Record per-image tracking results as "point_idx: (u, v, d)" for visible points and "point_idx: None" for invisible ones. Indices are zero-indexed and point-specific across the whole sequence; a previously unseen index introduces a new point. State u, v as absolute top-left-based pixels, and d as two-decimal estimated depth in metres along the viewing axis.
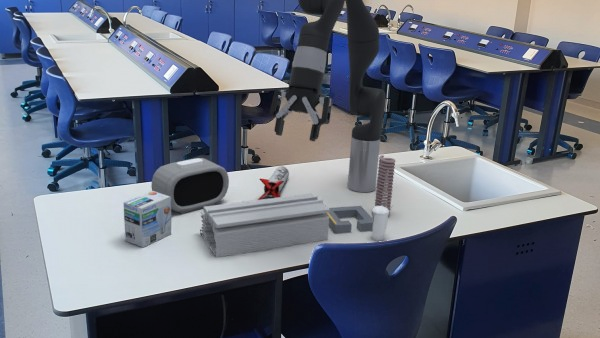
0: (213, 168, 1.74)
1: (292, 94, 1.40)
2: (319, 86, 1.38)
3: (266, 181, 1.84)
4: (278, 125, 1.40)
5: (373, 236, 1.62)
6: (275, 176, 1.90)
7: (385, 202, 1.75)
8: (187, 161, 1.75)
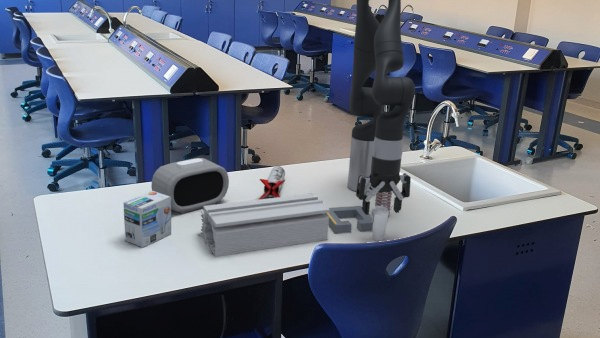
0: (213, 168, 1.74)
1: (378, 179, 1.55)
2: None
3: (266, 182, 1.84)
4: (368, 207, 1.57)
5: (373, 236, 1.62)
6: (274, 176, 1.90)
7: (385, 202, 1.75)
8: (187, 161, 1.74)
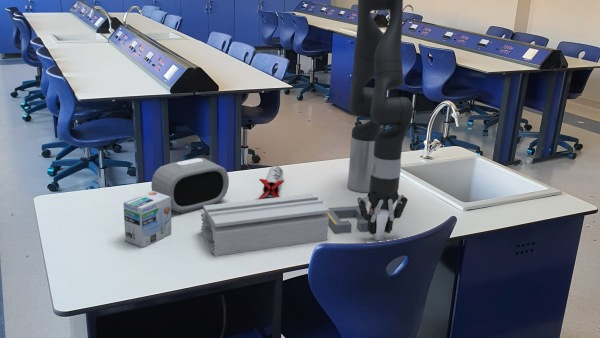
0: (213, 168, 1.74)
1: (376, 197, 1.57)
2: None
3: (265, 182, 1.84)
4: (373, 227, 1.60)
5: (373, 236, 1.62)
6: (273, 176, 1.90)
7: None
8: (187, 161, 1.75)
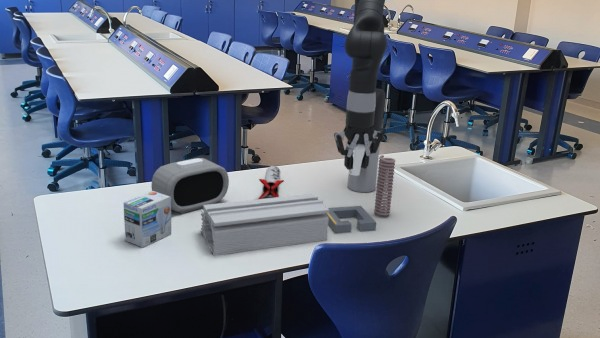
0: (213, 168, 1.74)
1: (352, 132, 1.61)
2: None
3: (265, 182, 1.84)
4: (350, 162, 1.64)
5: (350, 171, 1.65)
6: (271, 176, 1.90)
7: (385, 202, 1.75)
8: (187, 161, 1.75)
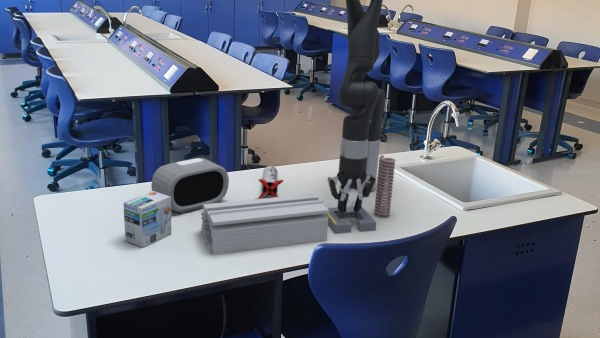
0: (213, 168, 1.74)
1: (345, 177, 1.65)
2: None
3: (264, 182, 1.84)
4: (343, 206, 1.68)
5: (343, 214, 1.70)
6: (270, 176, 1.90)
7: (385, 202, 1.75)
8: (187, 161, 1.75)
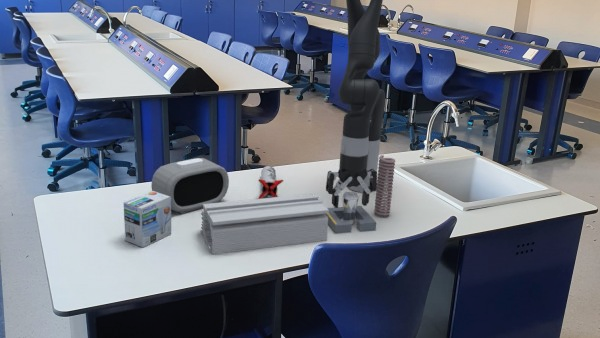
0: (213, 168, 1.74)
1: (346, 175, 1.65)
2: None
3: (263, 182, 1.84)
4: (337, 201, 1.67)
5: (344, 220, 1.71)
6: (269, 176, 1.90)
7: (385, 202, 1.75)
8: (187, 161, 1.74)
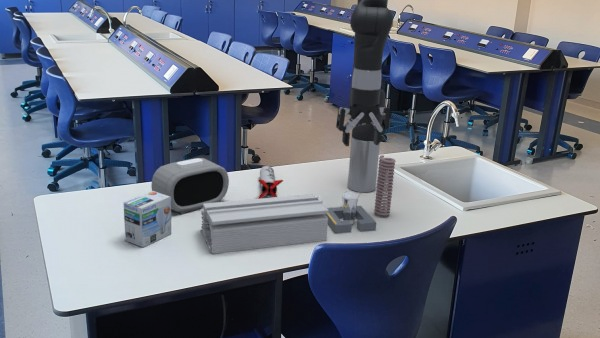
0: (213, 168, 1.74)
1: (357, 110, 1.58)
2: None
3: (263, 182, 1.83)
4: (348, 138, 1.61)
5: (344, 220, 1.71)
6: (268, 176, 1.90)
7: (385, 202, 1.75)
8: (187, 161, 1.75)
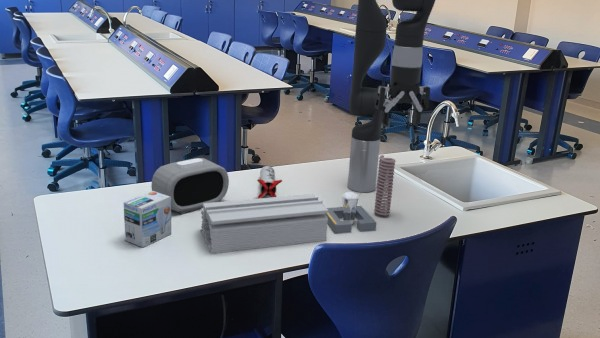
0: (213, 168, 1.74)
1: (397, 89, 1.54)
2: None
3: (262, 182, 1.83)
4: (387, 118, 1.56)
5: (344, 220, 1.71)
6: (268, 176, 1.90)
7: (385, 202, 1.75)
8: (187, 161, 1.75)
